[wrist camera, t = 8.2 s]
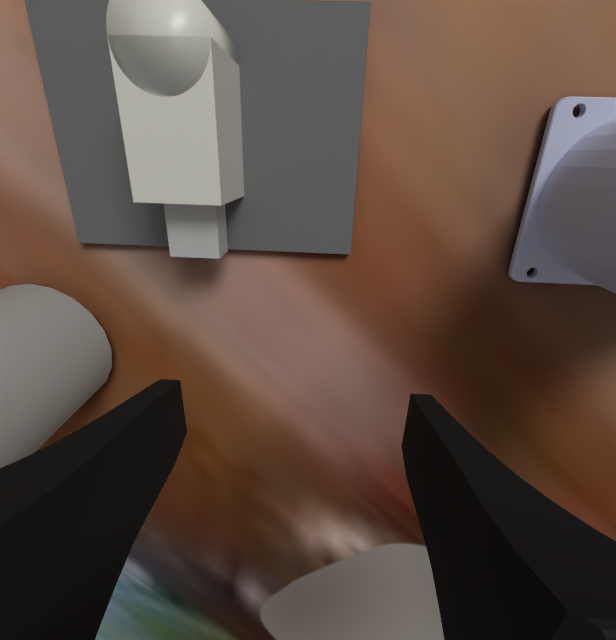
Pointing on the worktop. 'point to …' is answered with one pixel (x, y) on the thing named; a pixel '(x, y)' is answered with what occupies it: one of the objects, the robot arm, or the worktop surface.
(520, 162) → the worktop surface
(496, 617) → the robot arm
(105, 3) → the mat
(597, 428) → the worktop surface
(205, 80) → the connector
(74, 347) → the can
